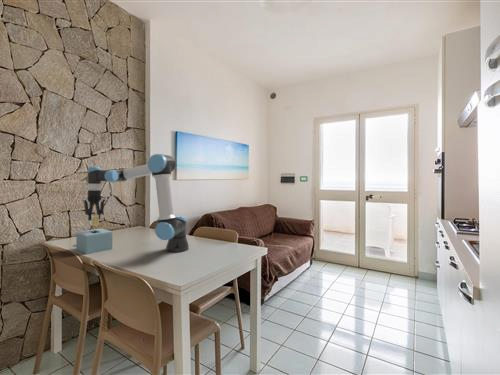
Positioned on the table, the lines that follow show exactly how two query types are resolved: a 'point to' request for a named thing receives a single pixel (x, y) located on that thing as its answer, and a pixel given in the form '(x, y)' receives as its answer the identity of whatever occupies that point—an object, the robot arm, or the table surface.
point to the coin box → (93, 240)
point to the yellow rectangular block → (95, 221)
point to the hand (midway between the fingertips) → (94, 224)
